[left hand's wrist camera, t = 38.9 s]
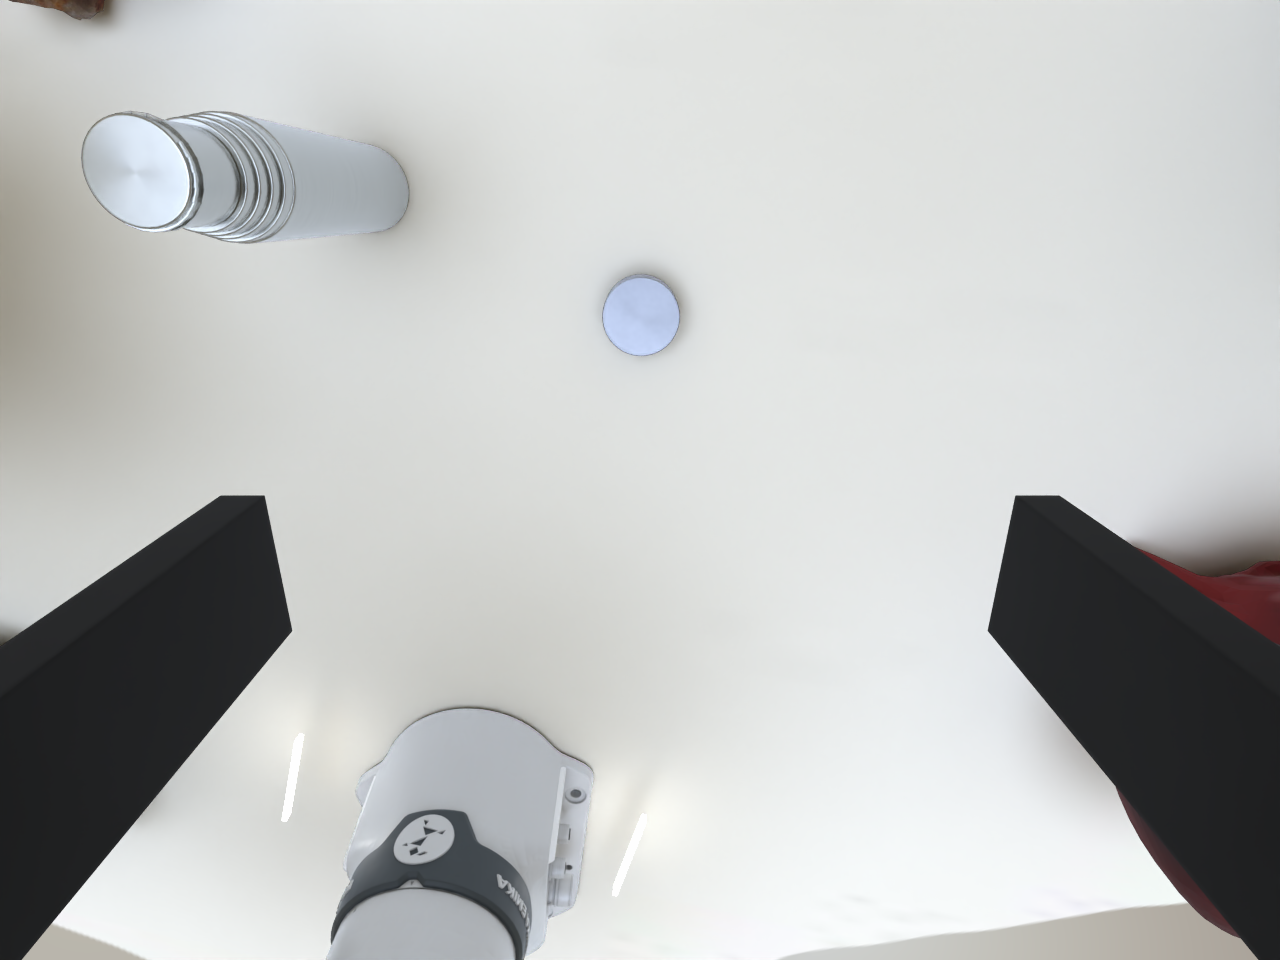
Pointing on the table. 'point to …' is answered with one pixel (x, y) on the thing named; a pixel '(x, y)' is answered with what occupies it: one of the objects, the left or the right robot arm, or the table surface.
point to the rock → (70, 6)
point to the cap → (641, 315)
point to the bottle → (240, 178)
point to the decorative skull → (1275, 608)
